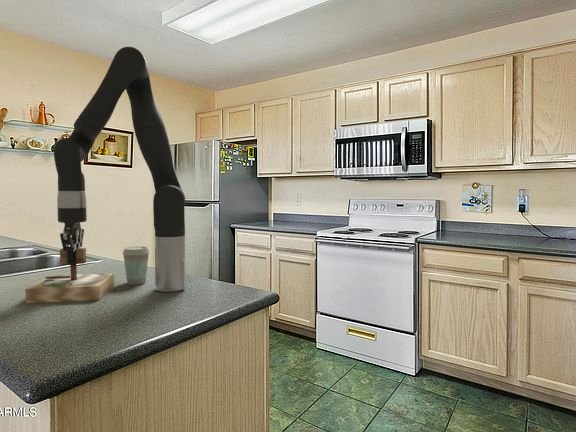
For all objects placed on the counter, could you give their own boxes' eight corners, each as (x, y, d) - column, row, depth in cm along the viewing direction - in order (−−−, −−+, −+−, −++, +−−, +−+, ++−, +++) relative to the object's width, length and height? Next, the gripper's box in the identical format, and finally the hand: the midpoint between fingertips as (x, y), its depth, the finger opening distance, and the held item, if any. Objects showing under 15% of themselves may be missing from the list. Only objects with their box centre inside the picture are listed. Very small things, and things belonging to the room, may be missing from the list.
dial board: (114, 285, 124) (114, 272, 124) (100, 299, 107) (99, 284, 107) (50, 287, 120) (50, 274, 120) (25, 303, 103) (25, 287, 103)
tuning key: (86, 278, 115) (85, 247, 115) (84, 279, 113) (83, 249, 112) (47, 279, 113) (46, 248, 112) (44, 281, 111) (43, 249, 110)
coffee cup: (140, 286, 123) (140, 250, 122) (117, 284, 124) (116, 249, 124) (154, 280, 131) (154, 246, 130) (133, 279, 133) (132, 245, 132)
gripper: (78, 207, 106) (79, 267, 107) (92, 205, 120) (93, 259, 121) (48, 207, 104) (50, 268, 106) (66, 205, 118) (68, 259, 119)
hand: (73, 263), depth 113 cm, fingers closed on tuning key, 2 cm apart
